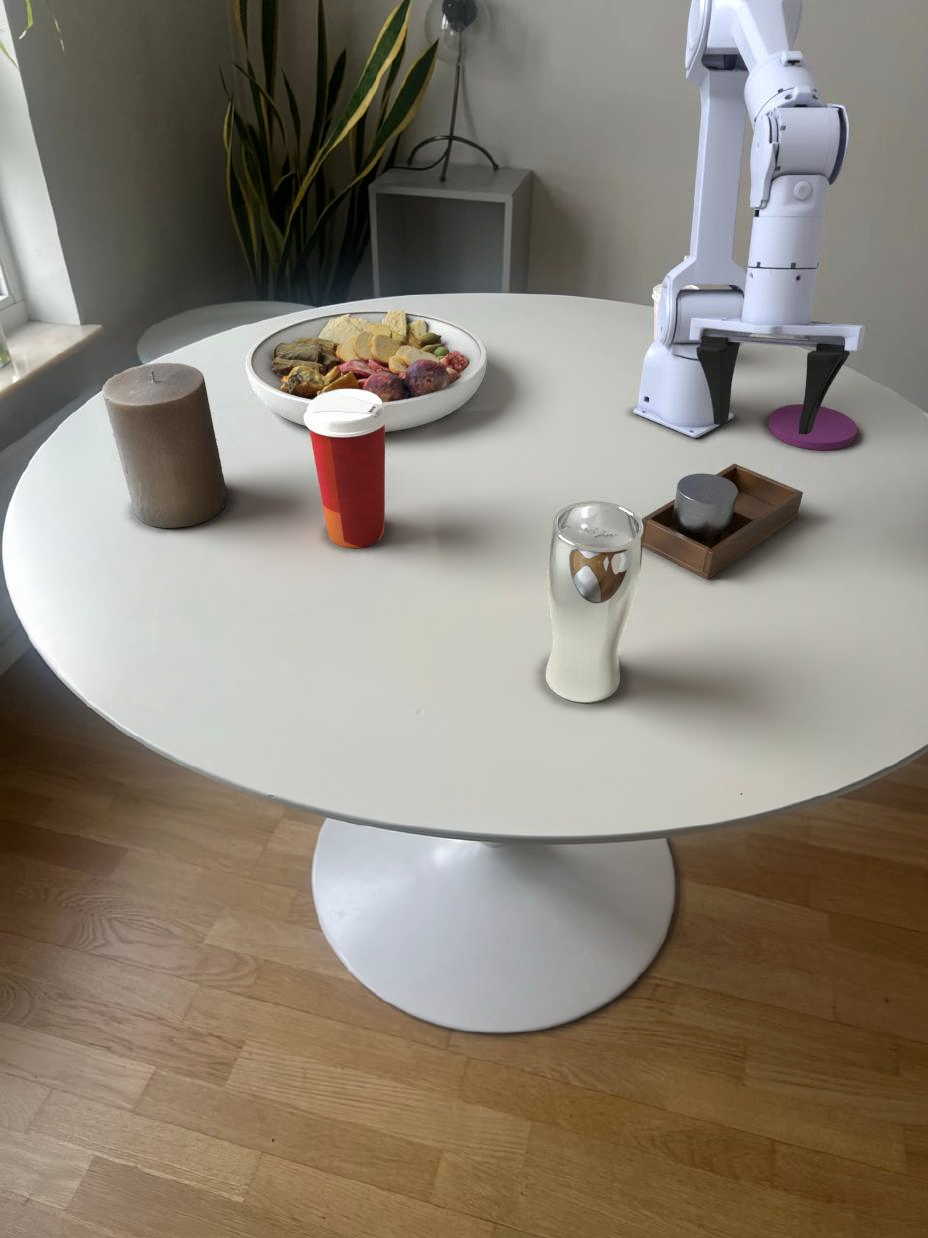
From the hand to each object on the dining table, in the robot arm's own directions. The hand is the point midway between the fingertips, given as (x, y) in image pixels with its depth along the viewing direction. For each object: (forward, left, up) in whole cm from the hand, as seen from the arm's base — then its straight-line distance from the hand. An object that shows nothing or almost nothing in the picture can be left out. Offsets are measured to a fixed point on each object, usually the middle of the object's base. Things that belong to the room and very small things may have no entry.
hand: (762, 427), depth 85 cm
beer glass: (+2, -26, -13) cm, 29 cm away
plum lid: (-8, +27, -13) cm, 30 cm away
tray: (-3, 0, -13) cm, 13 cm away
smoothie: (-32, +31, -13) cm, 46 cm away
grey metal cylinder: (-3, -3, -12) cm, 13 cm away
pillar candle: (-45, -36, -13) cm, 59 cm away
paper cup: (-28, -26, -13) cm, 40 cm away
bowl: (-53, -4, -13) cm, 54 cm away
